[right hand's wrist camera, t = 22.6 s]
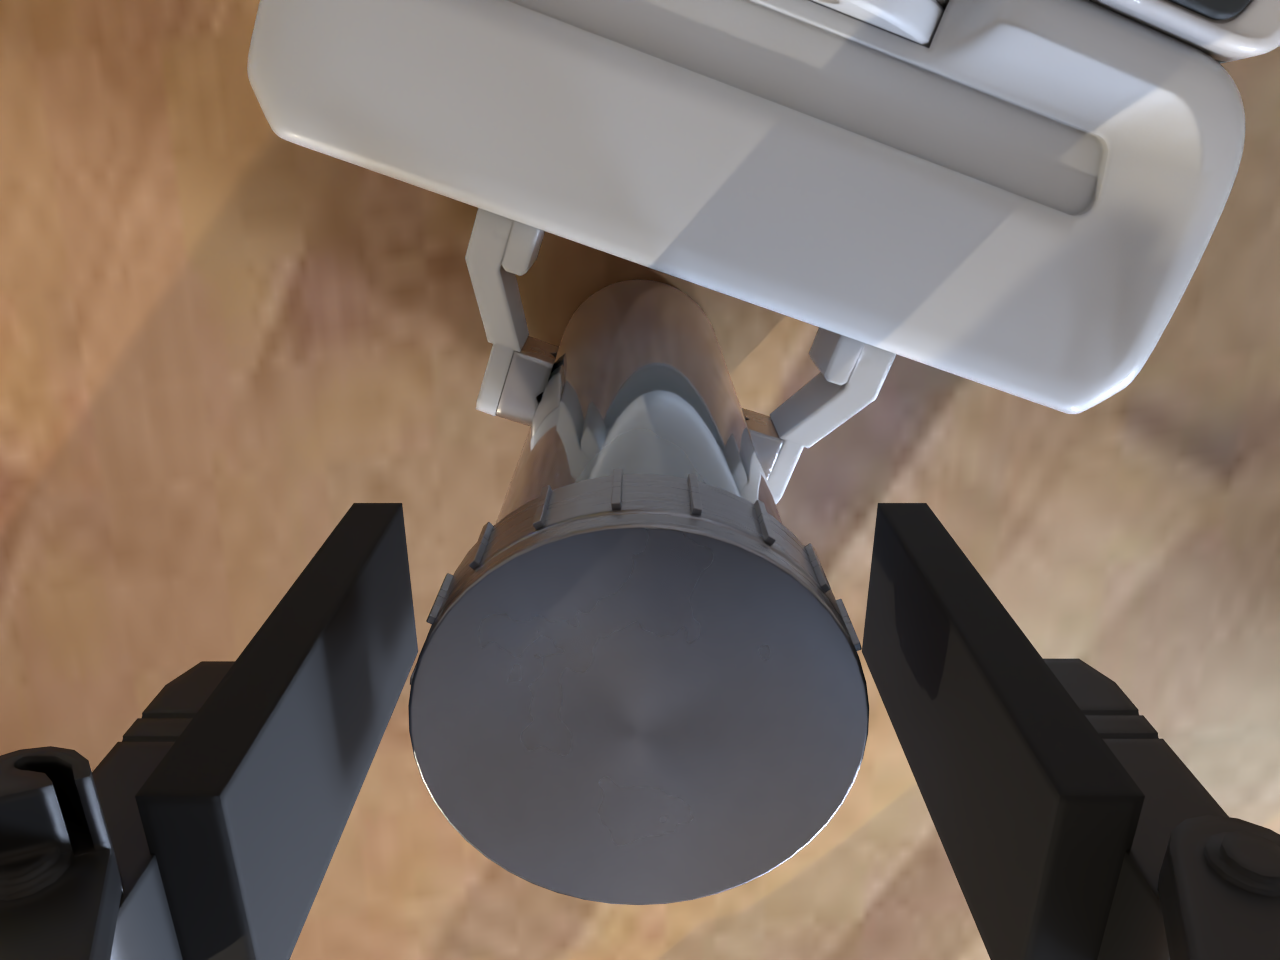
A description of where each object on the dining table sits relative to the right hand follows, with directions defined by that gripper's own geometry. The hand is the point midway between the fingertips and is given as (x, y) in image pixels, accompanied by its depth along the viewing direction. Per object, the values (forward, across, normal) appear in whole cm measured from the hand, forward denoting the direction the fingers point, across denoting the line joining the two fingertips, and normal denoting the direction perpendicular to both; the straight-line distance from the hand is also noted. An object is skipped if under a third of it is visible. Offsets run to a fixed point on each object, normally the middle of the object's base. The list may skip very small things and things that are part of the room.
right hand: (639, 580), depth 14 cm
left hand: (+8, 0, -1) cm, 8 cm away
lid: (-4, 0, 0) cm, 4 cm away
